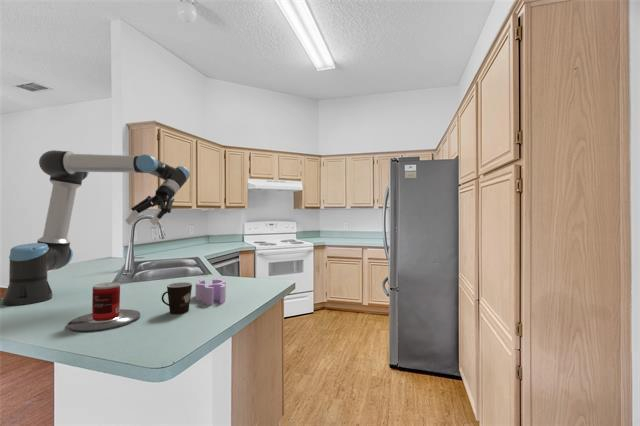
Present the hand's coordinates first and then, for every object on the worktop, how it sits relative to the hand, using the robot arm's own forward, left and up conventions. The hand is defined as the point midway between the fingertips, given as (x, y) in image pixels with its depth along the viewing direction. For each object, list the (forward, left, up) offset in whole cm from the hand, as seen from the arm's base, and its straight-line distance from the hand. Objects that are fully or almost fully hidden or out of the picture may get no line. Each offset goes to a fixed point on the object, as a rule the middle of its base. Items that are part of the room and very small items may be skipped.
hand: (139, 222), depth 132 cm
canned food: (+13, -25, -32) cm, 42 cm away
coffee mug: (+28, -10, -33) cm, 44 cm away
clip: (+28, +11, -33) cm, 45 cm away
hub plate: (+13, -25, -33) cm, 43 cm away
